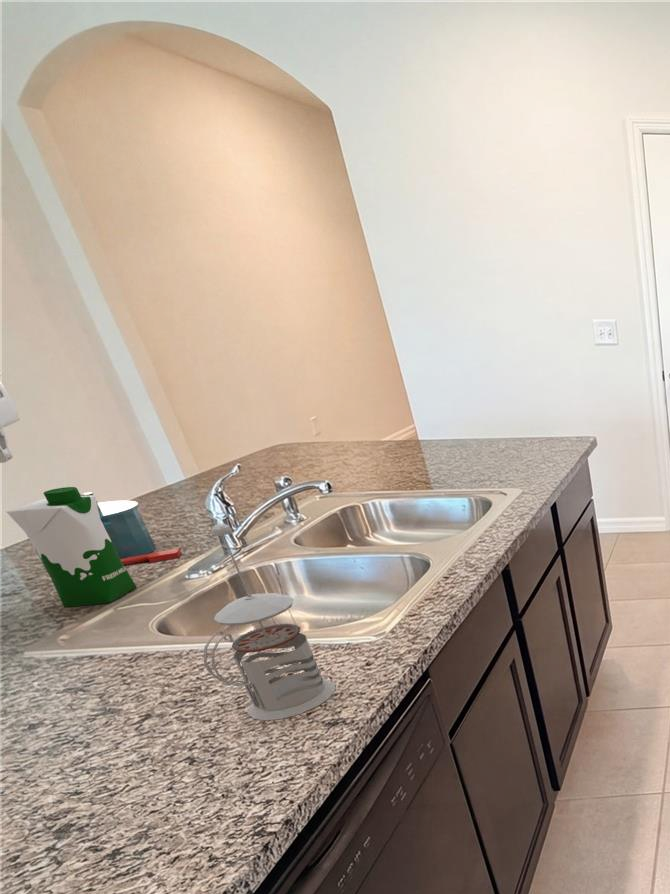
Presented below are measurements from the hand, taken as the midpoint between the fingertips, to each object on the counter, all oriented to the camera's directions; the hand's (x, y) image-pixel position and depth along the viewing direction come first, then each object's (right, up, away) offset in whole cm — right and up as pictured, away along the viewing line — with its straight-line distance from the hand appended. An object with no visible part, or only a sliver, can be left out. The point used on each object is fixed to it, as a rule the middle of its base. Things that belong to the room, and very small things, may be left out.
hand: (2, 461), depth 100 cm
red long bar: (-14, -14, +34) cm, 39 cm away
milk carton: (-5, -21, +19) cm, 29 cm away
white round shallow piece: (-23, -4, +34) cm, 41 cm away
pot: (-23, -12, +38) cm, 46 cm away
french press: (+53, -35, -12) cm, 65 cm away
